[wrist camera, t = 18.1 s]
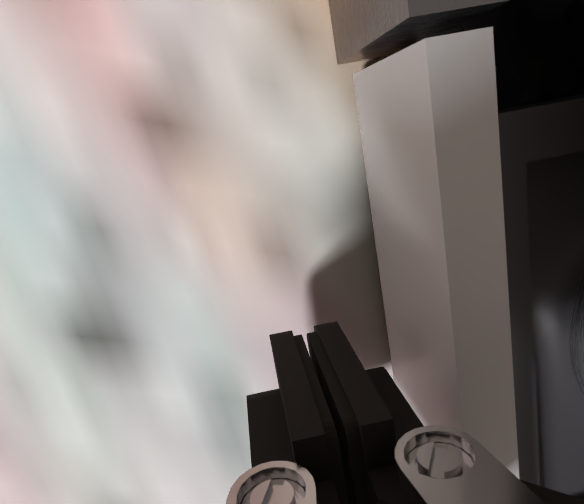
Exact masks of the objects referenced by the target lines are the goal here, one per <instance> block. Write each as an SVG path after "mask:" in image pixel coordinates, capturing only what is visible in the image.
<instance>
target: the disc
mask: <svg viewBox="0 0 584 504" xmlns="http://www.w3.org/2000/svg"><path fill="white" fill-rule="evenodd" d="M569 345H570V357H571V363H572V368H573V372H574V376H575V379H576V381H577V384H578V386H579V389H580V391H581V393H582V394H583V396H584V277H583V280H582V282H581V284H580V286H579V290H578V293H577V296H576V300H575V303H574V306H573V312H572V317H571V323H570V339H569Z"/></svg>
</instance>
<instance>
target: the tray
mask: <svg viewBox="0 0 584 504" xmlns="http://www.w3.org/2000/svg"><path fill="white" fill-rule="evenodd" d="M353 82H354V89H355V96H356V104H357V111H358V119H359V126H360V133H361V141H362V148H363V156H364V163H365V170H366V178H367V185H368V192H369V200H370V207H371V215H372V222H373V229H374V237H375V244H376V252H377V259H378V266H379V274H380V281H381V289H382V296H383V303H384V311H385V318H386V326H387V333H388V340H389V348H390V355H391V362H392V370H393V377H394V382H395V384H396V385H397V387H398V388H399V390H400V391H401V393H402V394H403V396H404V397H405V399H406V400H407V402H408V403H409V405H410V406H411V408H412V409H413V411H414V412H415V414H416V415H417V417H418V418H419V420H420V421H421V423H422V424H423V425H424V426H437V425H441V426H446V427H452V428H455V429H458V430H460V431H463V432H466V433H467V434H468V435H470V436H471V437H473V438H474V439H476V440H477V441H478V442H479V443H480V444H481V445H482V446H483V447H484V448H486V449H487V450H488V451H489V452H490V453H491V454H492V455H493V456H494V457H495V458H496V459H498V460H499V461H500V462H501V463H502V464H503V465H504V466H505V467H506V468H507V469H508V470H510V471H511V472H512V473H513V474H514V475H515V476H516V477H517V478H518V479H520V480H523V481H526V482H529V483H532V484H536V485H539V486H542V487H545V488H548V489H551V490H555V491H558V492H561V493H564V494H567V495H570V496H574V497H577V498H580V499H583V500H584V396H583V394H582V393H581V391H580V389H579V386H578V384H577V381H576V379H575V376H574V372H573V368H572V363H571V357H570V345H569V339H570V323H571V317H572V312H573V306H574V303H575V300H576V296H577V293H578V290H579V286H580V284H581V282H582V280H583V277H584V94H580V95H574V96H569V97H564V98H559V99H553V100H548V101H543V102H538V103H532V104H527V105H522V106H516V107H511V108H506V109H501V110H498V106H497V89H496V72H495V55H494V38H493V27H487V28H481V29H475V30H470V31H464V32H458V33H452V34H447V35H441V36H435V37H429V38H425V39H423V40H421V41H419V42H417V43H415V44H413V45H411V46H409V47H407V48H405V49H403V50H401V51H399V52H397V53H395V54H393V55H391V56H389V57H387V58H385V59H383V60H381V61H379V62H377V63H375V64H373V65H371V66H369V67H367V68H365V69H363V70H361V71H359V72H357V73H355V74H353Z"/></svg>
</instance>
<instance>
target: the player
mask: <svg viewBox="0 0 584 504" xmlns="http://www.w3.org/2000/svg"><path fill="white" fill-rule="evenodd" d="M329 7H330V14H331V21H332V28H333V35H334V42H335V49H336V56H337V63H338V64H344V63H350V62H355V61H361V60H367V59H372V58H378V57H384V56H389V55H393V54H395V53H397V52H399V51H401V50H403V49H405V48H407V47H409V46H411V45H413V44H415V43H417V42H419V41H421V40H423V39H425V38H429V37H435V36H441V35H447V34H452V33H458V32H464V31H470V30H475V29H481V28H487V27H493V38H494V55H495V72H496V89H497V106H498V110H501V109H506V108H511V107H516V106H522V105H527V104H532V103H538V102H543V101H548V100H553V99H559V98H564V97H569V96H574V95H580V94H584V0H329Z"/></svg>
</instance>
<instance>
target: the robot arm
mask: <svg viewBox="0 0 584 504" xmlns="http://www.w3.org/2000/svg"><path fill="white" fill-rule="evenodd" d="M270 341H271V346H272V352H273V357H274V362H275V368H276V373H277V378H278V384H279V389H275V390H271V391H266V392H261V393H257V394H252V395H247V409H248V423H249V436H250V450H251V464H252V468H251V469H249V470H248V471H246V472H245V473H244V474H242V475H241V476H240V477H239V478H238V479H237V480H236V482H235V483H234V484H233V485H232V487H231V489H230V492H229V494H228V497H227V501H226V504H584V500H583V499H580V498H577V497H574V496H570V495H567V494H564V493H561V492H558V491H555V490H551V489H548V488H545V487H542V486H539V485H536V484H532V483H529V482H526V481H523V480H520V479H518V478H517V477H516V476H515V475H514V474H513V473H512V472H511V471H510V470H508V469H507V468H506V467H505V466H504V465H503V464H502V463H501V462H500V461H499V460H498V459H496V458H495V457H494V456H493V455H492V454H491V453H490V452H489V451H488V450H487V449H486V448H484V447H483V446H482V445H481V444H480V443H479V442H478V441H477V440H476V439H474V438H473V437H471V436H470V435H468V434H467V433H466V432H463V431H460V430H458V429H455V428H452V427H446V426H441V425H437V426H424V425H423V424H422V423H421V421H420V420H419V418H418V417H417V415H416V414H415V412H414V411H413V409H412V408H411V406H410V405H409V403H408V402H407V400H406V399H405V397H404V396H403V394H402V393H401V391H400V390H399V388H398V387H397V385H396V384H395V382H394V381H393V379H392V378H391V376H390V375H389V373H388V372H387V370H386V369H385V368H384V367H378V368H373V369H369V370H365V369H364V367H363V366H362V364H361V362H360V360H359V359H358V357H357V355H356V354H355V352H354V350H353V348H352V347H351V345H350V343H349V342H348V340H347V338H346V336H345V335H344V333H343V331H342V330H341V328H340V326H339V324H338V323H337V322H331V323H326V324H321V325H316V326H314V332H312V333H307V341H308V347H309V353H310V356H309V353H308V351H307V348H306V345H305V342H304V340H303V337H302V335H297V336H293V333H292V330H291V331H287V332H282V333H277V334H272V335H270Z"/></svg>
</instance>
